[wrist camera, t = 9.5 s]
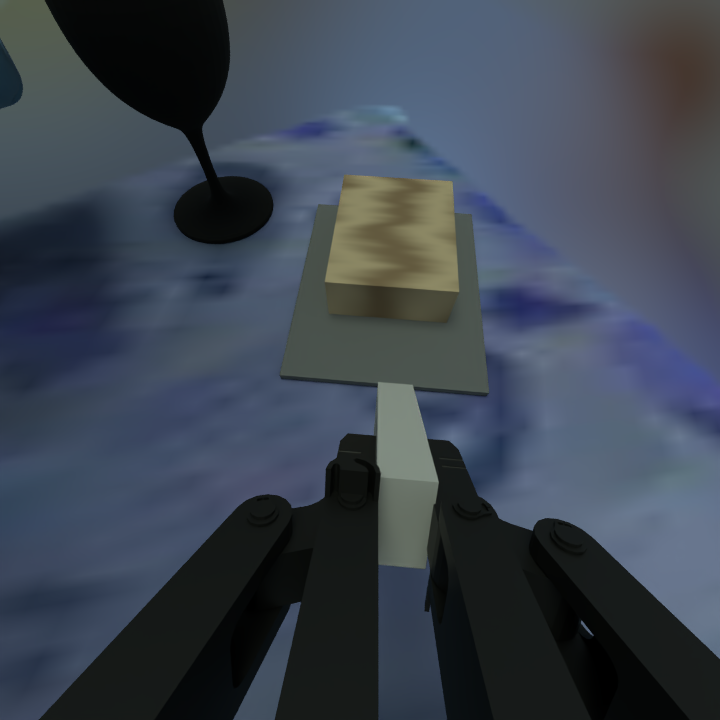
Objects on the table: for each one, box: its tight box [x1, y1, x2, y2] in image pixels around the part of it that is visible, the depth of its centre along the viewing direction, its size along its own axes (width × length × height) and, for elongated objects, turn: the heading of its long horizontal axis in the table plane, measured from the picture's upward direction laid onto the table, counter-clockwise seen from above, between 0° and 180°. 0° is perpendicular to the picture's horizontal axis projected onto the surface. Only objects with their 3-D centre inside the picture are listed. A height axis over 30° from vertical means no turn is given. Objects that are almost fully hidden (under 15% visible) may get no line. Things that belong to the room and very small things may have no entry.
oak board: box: [325, 175, 459, 323], centre depth 29 cm, size 10×4×13 cm
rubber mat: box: [280, 204, 489, 396], centre depth 30 cm, size 16×20×1 cm
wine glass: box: [45, 0, 273, 244], centre depth 27 cm, size 10×10×20 cm
